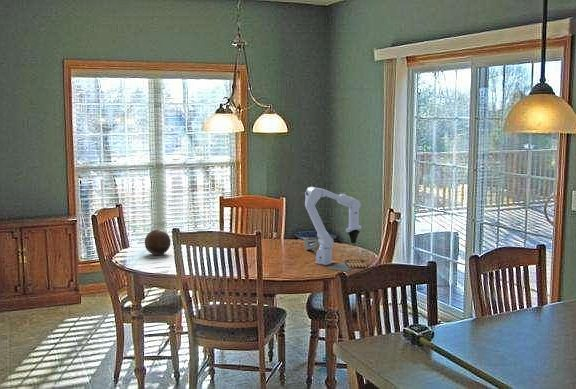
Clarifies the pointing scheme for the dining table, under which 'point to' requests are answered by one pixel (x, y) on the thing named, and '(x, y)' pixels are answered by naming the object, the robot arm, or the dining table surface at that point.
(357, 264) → the ammunition clip
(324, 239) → the robot arm
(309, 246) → the gun
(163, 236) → the wooden sphere
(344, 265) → the mat
